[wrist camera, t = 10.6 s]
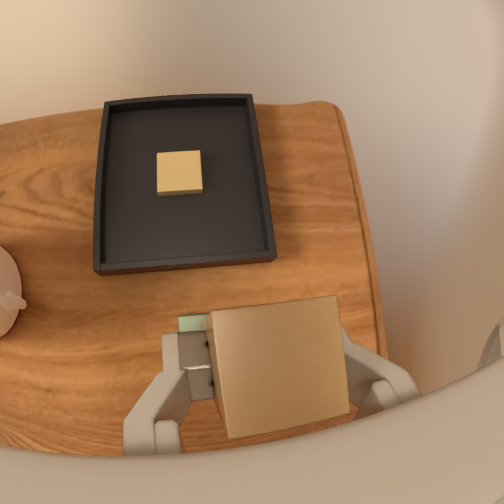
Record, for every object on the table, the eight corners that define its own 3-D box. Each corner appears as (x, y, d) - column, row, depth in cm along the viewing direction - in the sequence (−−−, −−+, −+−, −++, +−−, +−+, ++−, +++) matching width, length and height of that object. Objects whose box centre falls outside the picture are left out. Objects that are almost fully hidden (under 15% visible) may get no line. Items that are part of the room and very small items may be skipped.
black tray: (248, 105, 33) (252, 93, 31) (271, 261, 29) (277, 256, 27) (108, 113, 30) (104, 101, 28) (100, 275, 26) (93, 271, 24)
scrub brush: (277, 306, 16) (369, 277, 8) (286, 375, 16) (385, 413, 7) (178, 317, 15) (163, 300, 7) (187, 389, 15) (186, 456, 6)
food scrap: (199, 155, 30) (200, 150, 29) (202, 193, 29) (202, 189, 28) (157, 158, 29) (156, 152, 28) (158, 196, 28) (157, 192, 27)
